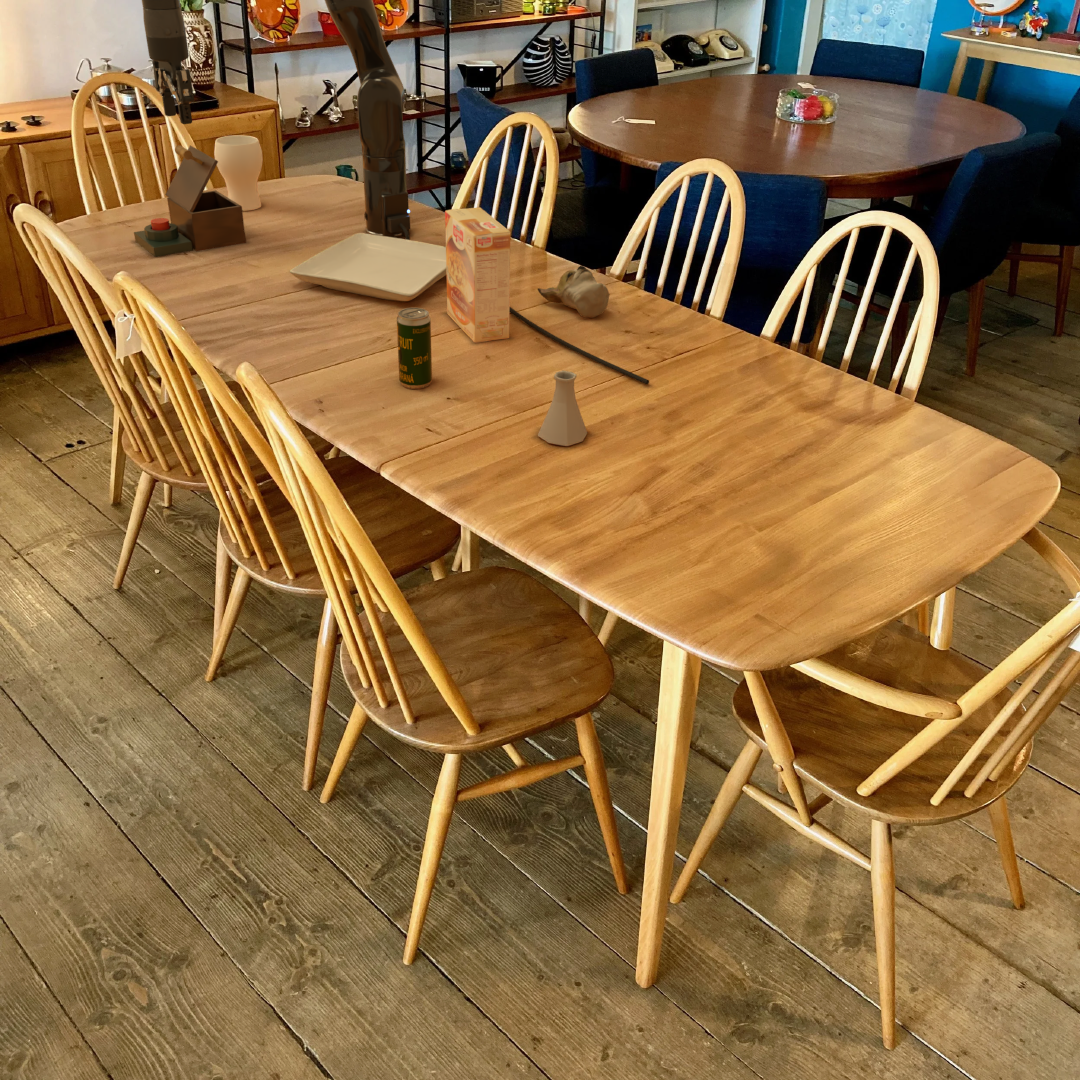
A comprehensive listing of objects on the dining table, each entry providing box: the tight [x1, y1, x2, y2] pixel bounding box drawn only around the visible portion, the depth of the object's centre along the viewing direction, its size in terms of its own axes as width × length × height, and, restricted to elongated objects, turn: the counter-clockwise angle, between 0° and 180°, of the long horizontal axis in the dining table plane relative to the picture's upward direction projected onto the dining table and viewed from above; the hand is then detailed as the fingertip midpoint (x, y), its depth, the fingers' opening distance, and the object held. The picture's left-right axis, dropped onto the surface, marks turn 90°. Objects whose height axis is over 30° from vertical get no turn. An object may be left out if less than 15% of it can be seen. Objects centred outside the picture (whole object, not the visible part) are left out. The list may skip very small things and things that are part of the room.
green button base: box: [133, 222, 194, 258], centre depth 233 cm, size 12×8×4 cm, turn 36°
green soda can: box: [396, 307, 433, 390], centre depth 178 cm, size 5×5×12 cm
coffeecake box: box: [444, 207, 512, 344], centre depth 197 cm, size 15×7×20 cm, turn 23°
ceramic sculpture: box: [537, 265, 610, 319], centre depth 209 cm, size 11×9×15 cm
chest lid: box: [165, 144, 218, 213], centre depth 230 cm, size 12×14×5 cm
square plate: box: [289, 232, 447, 302], centre depth 221 cm, size 27×27×4 cm
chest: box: [166, 190, 247, 252], centre depth 237 cm, size 11×14×8 cm
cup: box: [213, 134, 264, 212], centre depth 255 cm, size 11×11×15 cm
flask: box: [537, 370, 588, 447], centre depth 164 cm, size 7×7×10 cm
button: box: [150, 217, 170, 230], centre depth 232 cm, size 4×4×2 cm
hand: (178, 119), depth 225 cm, fingers open, 8 cm apart
